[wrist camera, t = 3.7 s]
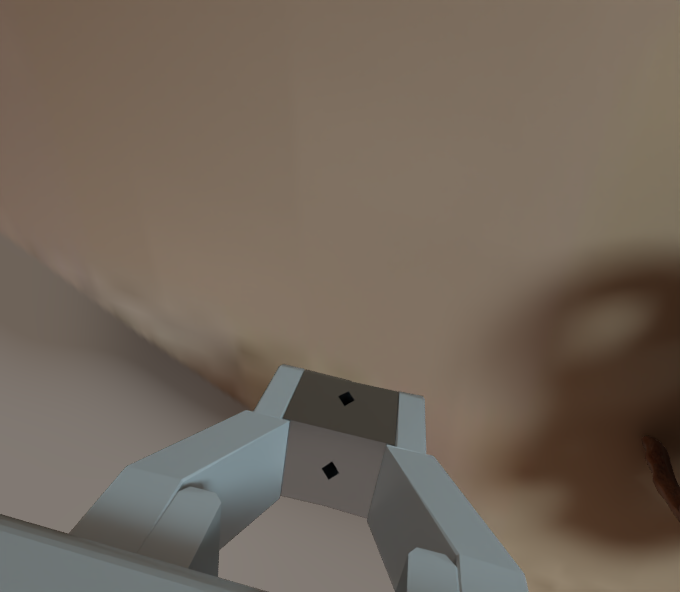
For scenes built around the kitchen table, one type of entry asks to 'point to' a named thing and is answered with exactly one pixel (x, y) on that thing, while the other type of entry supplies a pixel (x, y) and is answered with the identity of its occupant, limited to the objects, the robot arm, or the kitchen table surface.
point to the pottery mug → (662, 473)
